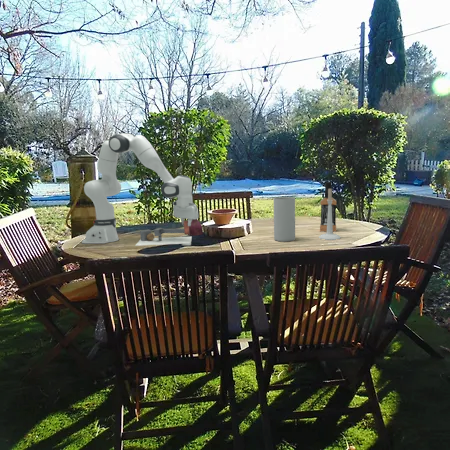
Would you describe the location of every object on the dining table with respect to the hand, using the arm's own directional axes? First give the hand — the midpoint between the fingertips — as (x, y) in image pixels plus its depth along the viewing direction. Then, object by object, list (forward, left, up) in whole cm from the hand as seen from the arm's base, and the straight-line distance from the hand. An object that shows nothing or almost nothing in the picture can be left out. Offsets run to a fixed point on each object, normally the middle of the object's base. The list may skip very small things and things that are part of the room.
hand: (186, 225), depth 237 cm
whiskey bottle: (+92, +18, -10) cm, 95 cm away
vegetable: (+4, +26, -10) cm, 28 cm away
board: (-14, +1, -10) cm, 17 cm away
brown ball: (-22, +4, -9) cm, 24 cm away
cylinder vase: (+58, -6, -10) cm, 60 cm away
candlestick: (+85, -7, -10) cm, 86 cm away
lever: (-9, 0, -5) cm, 10 cm away
